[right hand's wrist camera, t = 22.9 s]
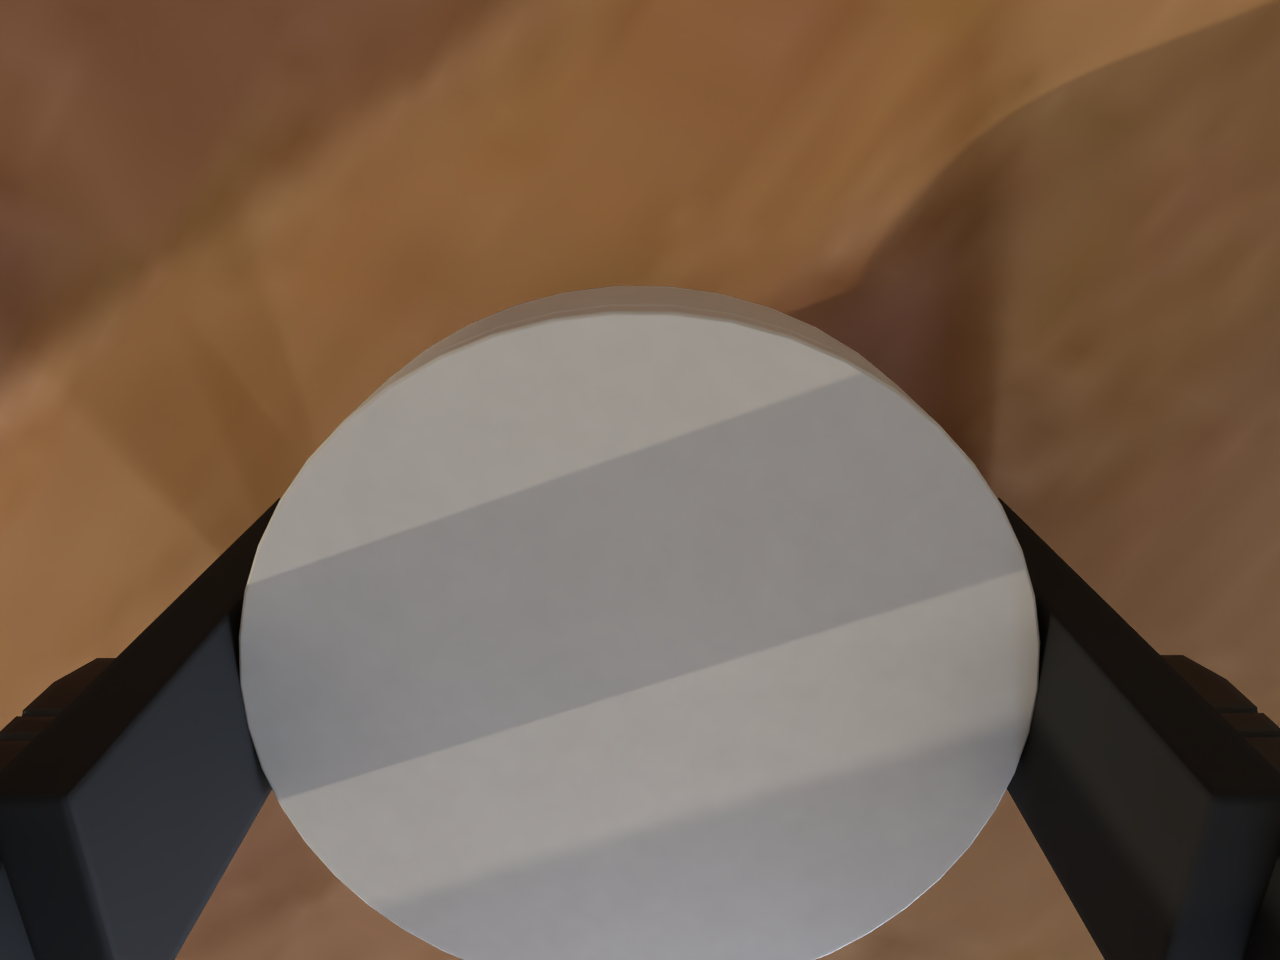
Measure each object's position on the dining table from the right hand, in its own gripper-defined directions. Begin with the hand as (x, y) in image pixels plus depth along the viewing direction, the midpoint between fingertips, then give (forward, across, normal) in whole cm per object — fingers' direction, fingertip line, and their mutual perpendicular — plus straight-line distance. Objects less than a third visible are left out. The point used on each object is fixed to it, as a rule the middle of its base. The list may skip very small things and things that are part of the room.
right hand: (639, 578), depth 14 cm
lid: (-3, 0, 0) cm, 3 cm away
